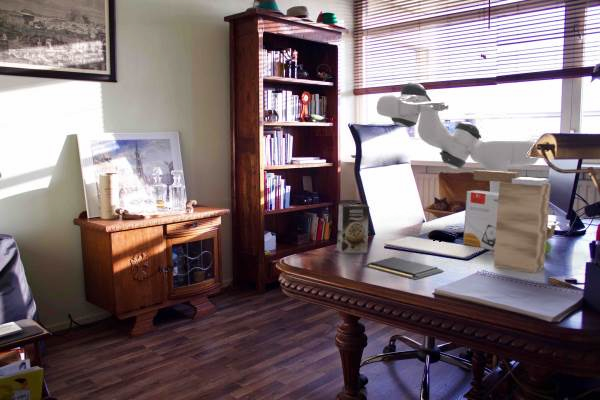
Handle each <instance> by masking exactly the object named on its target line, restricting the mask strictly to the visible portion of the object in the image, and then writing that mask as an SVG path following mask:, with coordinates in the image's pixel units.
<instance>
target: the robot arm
mask: <svg viewBox="0 0 600 400" xmlns="http://www.w3.org/2000/svg"><path fill="white" fill-rule="evenodd" d="M444 110H449V104H446V103H445V101H441V100H439V101H436V100H434V101H432V100H431V98H430V96H428V94H427V91H426V88H425V87H424V86H423V85H422V84H421V83H418V82H415V81H410V82H408V83H406V84H404V85H403V86H402V87H401V91H400V95H399V94H397V95H396V94H395V95H393V94H391V95H384V96H381V97H379V98H378V101H377V105H376V111H377V114H378V115H380V116H383V117H388V118H390V120H391V121H392V122H393V123H394V125H396V126H397V127H402V128H412V127H414V126H415V125H417V122H418V126H417V133H418V136H419V137H420V139H421V140H422V141H423V142H425V143H426V144H428V145H430V146H432V147H435V148H438V149H440V150H441V151H440V152H439V156H440V157H441V161H442V162H443V163H444V164H445V165H446V166H447V167H448V168H451V169H454V170H455V169H457V170H458V169H459V170H460V169H462V168H463V167H464V166H465V164H466V162H467V160H468V158H469V157H470V158H471V160H472V161H474V162H475V163H478V164H480V165H481V166H482V167H483V168H484V169H485V171H500V172H509V171H508V167H524V166H525V167H527V166H531V165H534V164H536V163H537V162H538V160H539V158H540V157H539V158H530V157H526V154H527V152H528V151H529V150H530V148H531V147H532V146H533V144H534V143H535V142H536V141H535V140H531V139H526V138H525V139H524V138H487V139H482V135H481V134H480V130H479V129H478V127H477V126H475V124H473V123H471V122H468V121H461V122H458V124H457V125H456V126H455V127H454V131H453V132H452V134H451V133H450V131H449V129H448V127H446V125H445V124H444V123H443V122H442V121H441V119H440V116H439V112H443V111H444ZM481 139H482V140H481ZM499 183H501V182H496V181H489V192H497V193H499Z"/></svg>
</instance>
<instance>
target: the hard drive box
mask: <svg viewBox="0 0 600 400" xmlns="http://www.w3.org/2000/svg"><path fill="white" fill-rule="evenodd" d="M498 196H499V193H497V192H490V191H488V190H487V191H486V190H478V189H477V190H475V189H474V190H467V191H466V198H465V199H466V200H465V214H464V226H463V227H464V229H463V239H462V241H463V242H462V245H466V246H472V247H479V248H485V249H486V250H489V251H494V252H495V240H496V226H497V211H498ZM485 249H484V250H485Z"/></svg>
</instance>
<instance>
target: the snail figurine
mask: <svg viewBox="0 0 600 400" xmlns="http://www.w3.org/2000/svg"><path fill="white" fill-rule="evenodd" d="M553 223H554V224H552V225H550V228H549V227H548V226H547V237H546V250H545V256H546V255H548V254H549V253H550V252H551V251H552V245H551V243H550V242H549V240H550V239H551V238H552V237H553V235H554V233H555V229H556V225H557V224H556V223H557V221H553Z"/></svg>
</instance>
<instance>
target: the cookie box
mask: <svg viewBox="0 0 600 400" xmlns="http://www.w3.org/2000/svg"><path fill="white" fill-rule="evenodd" d="M369 214H370V206H369V205H366V204H363V203H360V204H357V203H353V204H352V203H349V204H348V203H346V204H345V203H339V204H338V219H337V220H338V221H337V222H338V223H337V241H336V244H337V246H336V250H337V251H338V252H339V253H340V254H343V255H345V254H367V253H368V242H369V241H368V240H369V239H368V238H369V237H368V235H369V218H370V217H369Z"/></svg>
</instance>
